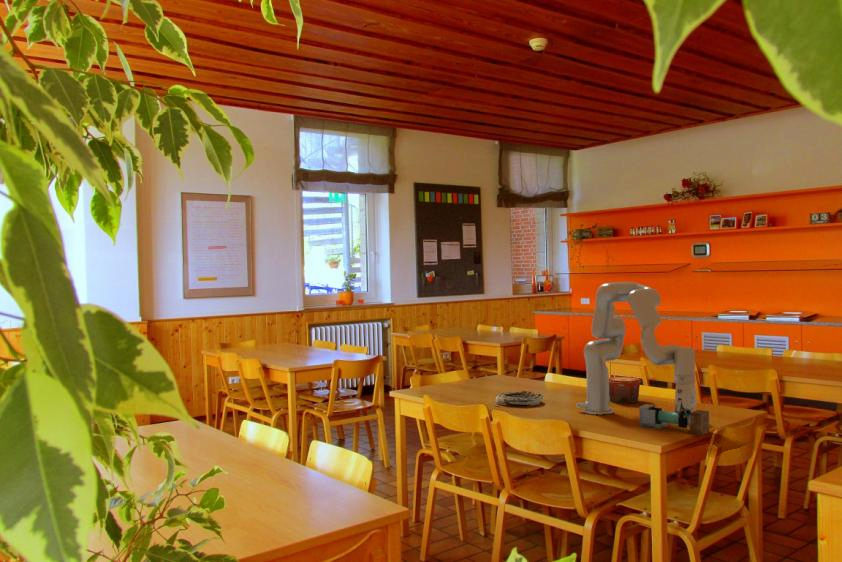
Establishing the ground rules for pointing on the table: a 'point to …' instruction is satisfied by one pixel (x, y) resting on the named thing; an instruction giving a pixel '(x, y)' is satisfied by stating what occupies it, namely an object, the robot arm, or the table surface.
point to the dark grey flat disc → (518, 398)
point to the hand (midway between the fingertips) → (685, 425)
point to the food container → (624, 389)
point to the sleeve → (650, 417)
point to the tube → (671, 417)
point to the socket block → (699, 422)
